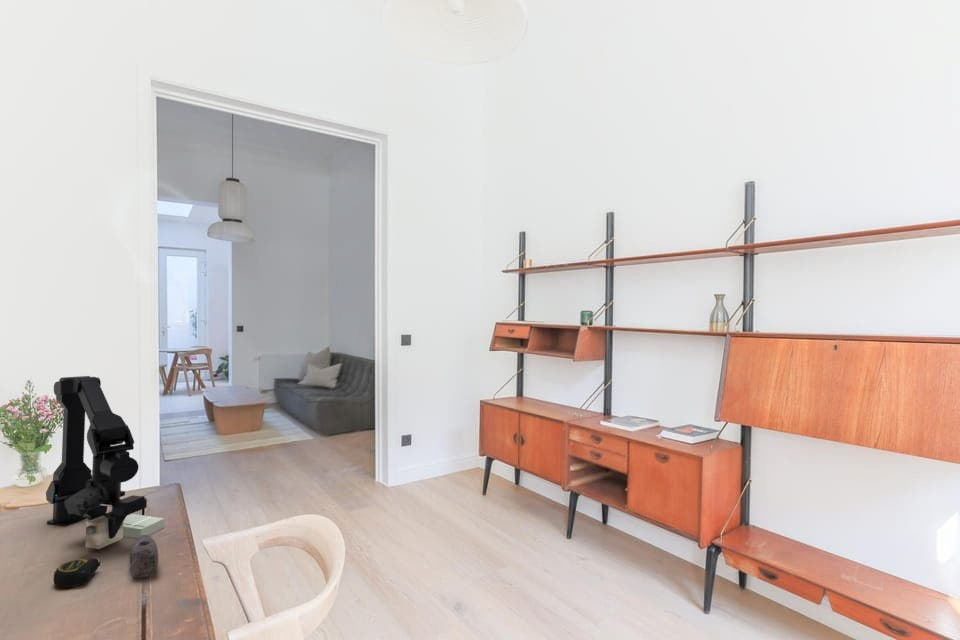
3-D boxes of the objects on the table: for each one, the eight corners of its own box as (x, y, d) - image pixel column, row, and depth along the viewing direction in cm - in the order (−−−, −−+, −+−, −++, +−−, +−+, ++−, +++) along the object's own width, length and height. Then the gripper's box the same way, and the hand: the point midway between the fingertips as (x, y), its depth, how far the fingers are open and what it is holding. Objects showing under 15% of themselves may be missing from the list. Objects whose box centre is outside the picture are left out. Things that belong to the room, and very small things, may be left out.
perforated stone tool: (128, 557, 114) (129, 528, 114) (155, 552, 117) (156, 523, 117) (128, 587, 102) (129, 554, 102) (158, 580, 105) (159, 548, 105)
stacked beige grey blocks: (81, 548, 115) (82, 523, 115) (113, 534, 123) (114, 510, 123) (94, 550, 114) (95, 525, 114) (126, 536, 122) (127, 512, 122)
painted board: (90, 531, 127) (90, 521, 127) (115, 520, 134) (115, 511, 134) (140, 538, 124) (141, 528, 124) (164, 527, 130) (164, 518, 130)
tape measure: (85, 589, 101) (86, 571, 101) (45, 593, 99) (46, 575, 99) (100, 572, 108) (101, 555, 108) (63, 576, 106) (63, 559, 106)
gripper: (41, 479, 113) (38, 546, 113) (106, 488, 109) (103, 557, 109) (88, 466, 124) (86, 527, 124) (149, 473, 120) (147, 536, 120)
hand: (104, 536), depth 119 cm, fingers closed on stacked beige grey blocks, 4 cm apart
